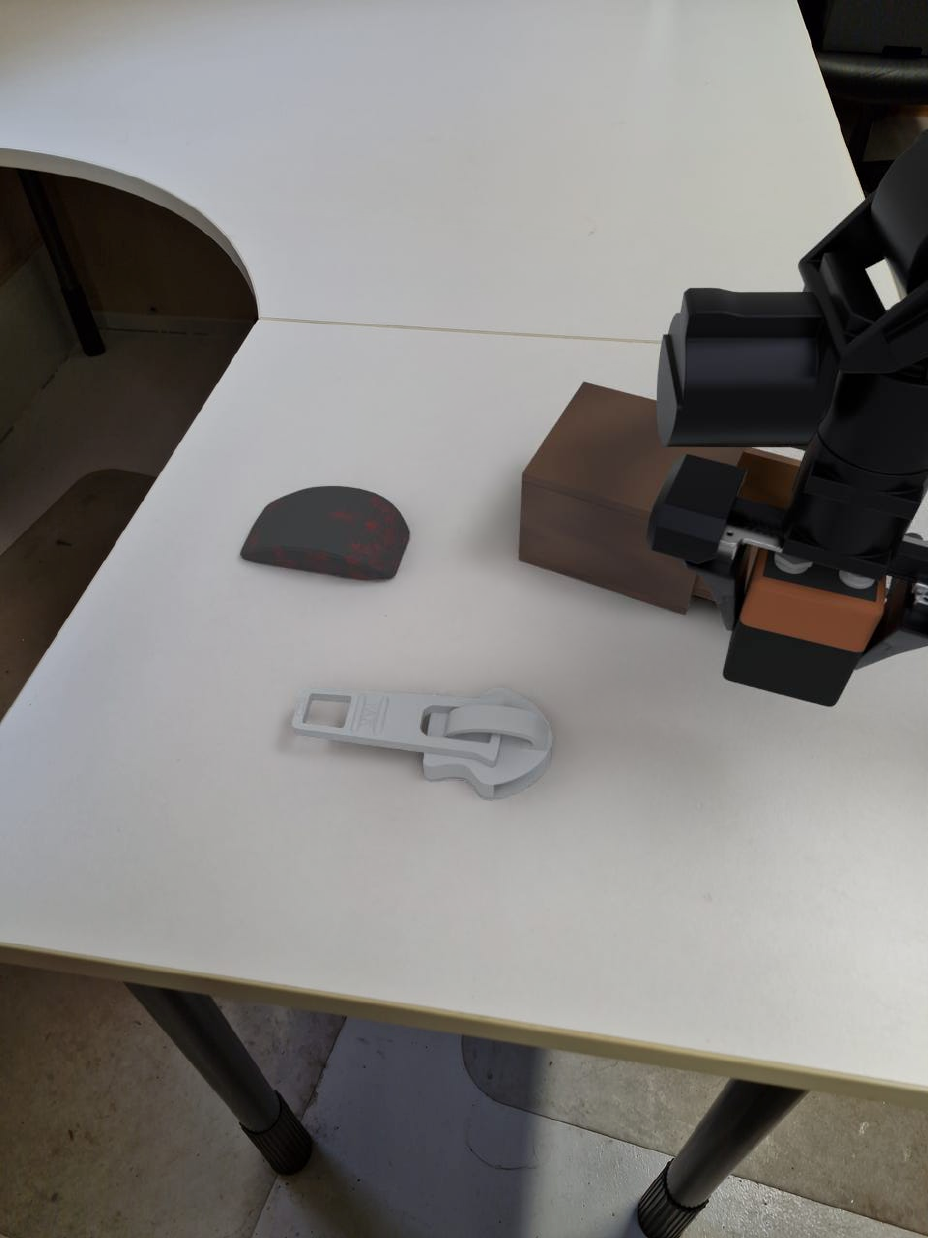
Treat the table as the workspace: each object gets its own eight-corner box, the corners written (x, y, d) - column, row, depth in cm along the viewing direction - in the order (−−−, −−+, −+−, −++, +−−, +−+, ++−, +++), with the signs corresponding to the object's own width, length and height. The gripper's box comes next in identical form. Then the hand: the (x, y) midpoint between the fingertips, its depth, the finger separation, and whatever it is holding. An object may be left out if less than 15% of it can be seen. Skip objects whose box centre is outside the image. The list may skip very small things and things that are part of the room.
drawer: (906, 561, 71) (944, 490, 65) (882, 666, 64) (923, 597, 58) (689, 498, 76) (707, 427, 70) (647, 589, 69) (662, 518, 63)
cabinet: (728, 513, 76) (754, 425, 69) (685, 615, 69) (709, 529, 61) (574, 468, 80) (583, 380, 73) (518, 559, 73) (521, 473, 65)
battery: (731, 630, 56) (767, 517, 48) (841, 657, 54) (896, 544, 46) (719, 682, 53) (755, 571, 45) (834, 712, 51) (891, 602, 44)
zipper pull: (316, 686, 65) (307, 652, 62) (554, 710, 63) (558, 675, 60) (289, 778, 60) (277, 746, 57) (546, 806, 58) (550, 775, 55)
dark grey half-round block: (389, 591, 71) (385, 558, 68) (236, 567, 73) (225, 533, 70) (415, 525, 76) (412, 491, 73) (270, 503, 78) (262, 469, 75)
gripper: (1108, 385, 41) (971, 598, 53) (723, 307, 47) (677, 516, 59) (1109, 535, 35) (953, 739, 47) (664, 424, 40) (626, 632, 52)
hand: (791, 644), depth 51 cm, fingers closed on battery, 7 cm apart
